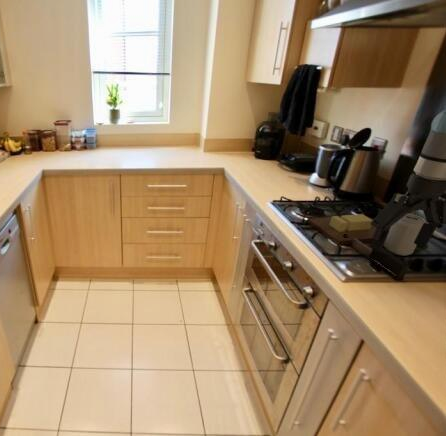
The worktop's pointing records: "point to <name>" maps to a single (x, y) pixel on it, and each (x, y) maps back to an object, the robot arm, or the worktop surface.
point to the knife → (383, 260)
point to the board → (335, 235)
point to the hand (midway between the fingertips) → (397, 247)
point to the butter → (357, 222)
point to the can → (404, 235)
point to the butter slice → (338, 223)
